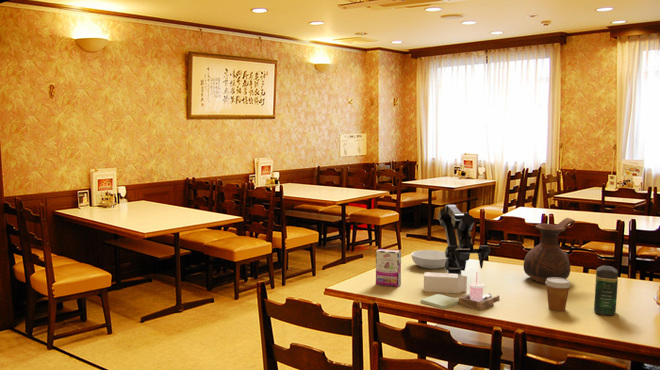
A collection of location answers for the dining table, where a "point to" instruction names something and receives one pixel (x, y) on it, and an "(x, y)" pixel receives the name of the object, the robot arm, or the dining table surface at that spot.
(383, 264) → the candy bar box
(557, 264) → the jug
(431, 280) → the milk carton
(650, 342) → the dining table surface
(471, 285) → the beverage cup
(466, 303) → the brown wooden tray
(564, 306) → the disposable coffee cup
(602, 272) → the coffee jar
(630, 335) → the dining table surface
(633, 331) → the dining table surface
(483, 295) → the key bar
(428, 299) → the pale green square pad
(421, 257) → the serving bowl
